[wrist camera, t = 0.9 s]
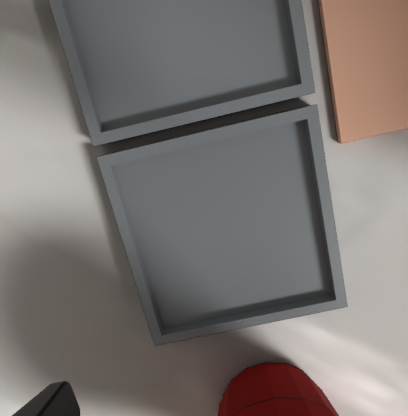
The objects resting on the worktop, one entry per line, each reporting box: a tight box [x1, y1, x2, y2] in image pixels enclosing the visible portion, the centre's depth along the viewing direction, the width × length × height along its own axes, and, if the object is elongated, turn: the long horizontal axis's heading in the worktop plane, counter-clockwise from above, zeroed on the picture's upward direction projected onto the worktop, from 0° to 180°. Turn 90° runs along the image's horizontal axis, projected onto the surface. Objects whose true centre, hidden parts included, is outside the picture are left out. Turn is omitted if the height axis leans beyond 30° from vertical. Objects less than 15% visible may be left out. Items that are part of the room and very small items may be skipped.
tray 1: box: [48, 0, 315, 146], centre depth 15 cm, size 10×10×1 cm
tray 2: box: [97, 105, 348, 346], centre depth 18 cm, size 10×10×1 cm
